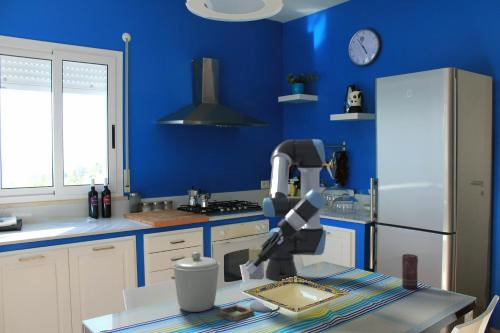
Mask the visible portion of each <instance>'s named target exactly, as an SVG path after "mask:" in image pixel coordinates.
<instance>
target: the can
mask: <svg viewBox="0 0 500 333" xmlns="http://www.w3.org/2000/svg"><path fill="white" fill-rule="evenodd" d="M401 257H402V258H401V263H402V264H401V271H402V272H401V273H402V274H401V281H402V282H401V285H402V289H405V290H411V291H414V290H415V291H416V290H417V289H418V264H419V258H418V255H417V254H416V255H415V254H411V253H410V254H409V253H406V254H403V255H402V256H401Z"/></svg>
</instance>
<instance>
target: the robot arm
mask: <svg viewBox="0 0 500 333" xmlns="http://www.w3.org/2000/svg"><path fill="white" fill-rule="evenodd" d="M326 163H327V162H326V153H325V147H324V143H323V141H322V140H321V139H318V138H317V139H316V138H315V139H313V138H309V139H307V138H306V139H304V138H303V139H287V140H285V141H282V142H281V143H279V144H278V145H277V146H276V147H275V149H274V150H273V151H272V153H271V156H270V165H271V175H270V184H269V195H268V197H264V198H263V200H262V213H263V215H264V217H270V218H271V217H272V218H280V217H281V220H280V221H279V222H278V223H277V227H275V228H271V230H270V231H269V232H268V238H267V239H266V241H265V242H264V243H262V245H261V246H260V247H263V252H262V254H261V255H259V254H258V255H257V256H258V257H257V258H256V259H255V260H254V261H253V262H252V263H251V264H250V265H249V260H248V261H247V262H246V263H245V264H244V266H246V268H245V270H246V271H247V272H248V273H250V274H252V273H253V272H254V271H255V270H256V269H257V268H258V267H259V266H260V265H261V264H262V263H263V262H264V263H267V261H268V263H267V266H266V270H265V278H267V279H269V280H272V281H280V280H282V279H286V278H289V277H294V276H298V270H297V267H296V263H295V260H294V258H295V256H312V257H313V256H322V255H323V254H324V252H325V247H326V241H327V240H326V237H327V231H326V230H325V229H324V227H323V225H322V223H321V222H320V220H321V219H320V217H321V216H320V214H321V213H320V210H322V209H323V207H324V205H326V203H327V201H326V199H325V198H324V197H323V196H322V194H320V172H321V171H322V169H323V165H326ZM292 165H297V170H298V171H299V172H300V197H288V190H289V172H290V167H291V166H292Z"/></svg>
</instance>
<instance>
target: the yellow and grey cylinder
mask: <svg viewBox="0 0 500 333" xmlns="http://www.w3.org/2000/svg"><path fill="white" fill-rule="evenodd" d="M262 252H263V247H261V246H250V247H249V249H248V261H249V265H250V264H251V263H252V262H253V261H254V260H255V259H256V258H257V257H258V256H257V255H258V254H259V255H261V254H262ZM264 263H265V261H264V262H263V263H262V264H261V265H260V266H259V267H258V268H257V269H256V270H255V271H254V272H253V273H252V274H250V273H249V272H248V273H249V274H248V275H249V280H263V278H264V277H265V264H264Z"/></svg>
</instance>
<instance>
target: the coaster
mask: <svg viewBox="0 0 500 333" xmlns="http://www.w3.org/2000/svg"><path fill="white" fill-rule="evenodd" d="M258 301H259V300H258ZM258 301H254V302H251V303H250V305H249V309H251V310H254V312H256V313H271V312H275V311H274V310H272V309H270V308H268V307H266V306H264V305H263V304H261V303H260V302H258Z"/></svg>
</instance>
